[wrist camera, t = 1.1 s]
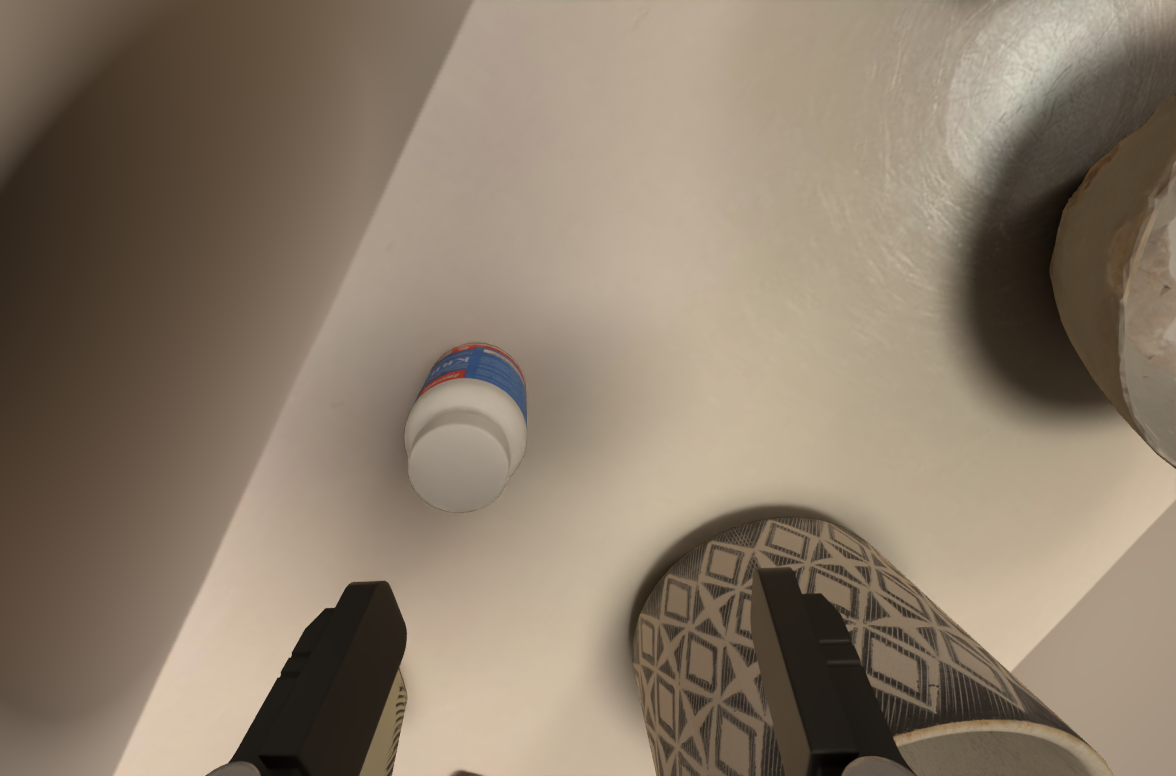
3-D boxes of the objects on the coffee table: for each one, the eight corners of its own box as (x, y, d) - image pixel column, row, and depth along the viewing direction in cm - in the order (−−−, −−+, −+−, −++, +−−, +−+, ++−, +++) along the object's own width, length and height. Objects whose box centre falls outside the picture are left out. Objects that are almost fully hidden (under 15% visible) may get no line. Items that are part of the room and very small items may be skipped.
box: (334, 712, 37) (246, 961, 25) (314, 662, 35) (211, 902, 23) (413, 695, 37) (364, 933, 25) (397, 646, 36) (336, 873, 24)
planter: (627, 736, 41) (694, 1061, 26) (613, 516, 35) (692, 771, 19) (868, 696, 43) (1067, 977, 27) (898, 479, 36) (1179, 686, 21)
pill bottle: (466, 321, 29) (443, 376, 20) (544, 378, 31) (557, 454, 22) (408, 397, 30) (361, 483, 21) (487, 449, 32) (475, 549, 23)
